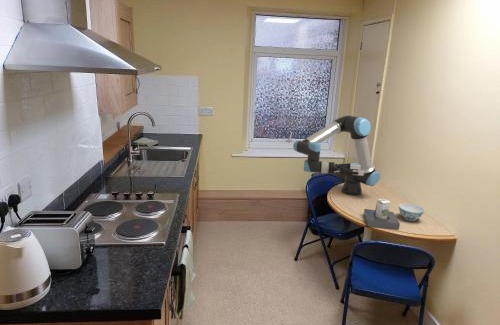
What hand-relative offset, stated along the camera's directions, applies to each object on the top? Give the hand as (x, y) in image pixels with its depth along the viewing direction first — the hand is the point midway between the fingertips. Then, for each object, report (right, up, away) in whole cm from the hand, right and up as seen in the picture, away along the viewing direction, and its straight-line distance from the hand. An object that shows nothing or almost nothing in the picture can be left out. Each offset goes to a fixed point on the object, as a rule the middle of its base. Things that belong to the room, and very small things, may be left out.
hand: (362, 170), depth 219 cm
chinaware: (+32, -32, +4) cm, 45 cm away
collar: (+11, -32, -2) cm, 34 cm away
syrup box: (+11, -33, -2) cm, 34 cm away
